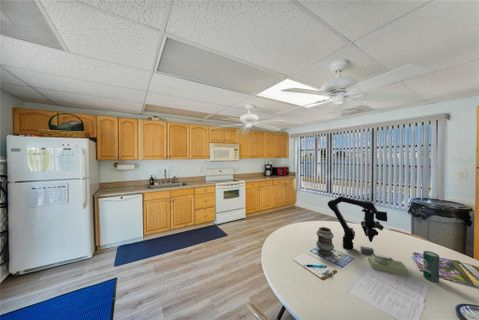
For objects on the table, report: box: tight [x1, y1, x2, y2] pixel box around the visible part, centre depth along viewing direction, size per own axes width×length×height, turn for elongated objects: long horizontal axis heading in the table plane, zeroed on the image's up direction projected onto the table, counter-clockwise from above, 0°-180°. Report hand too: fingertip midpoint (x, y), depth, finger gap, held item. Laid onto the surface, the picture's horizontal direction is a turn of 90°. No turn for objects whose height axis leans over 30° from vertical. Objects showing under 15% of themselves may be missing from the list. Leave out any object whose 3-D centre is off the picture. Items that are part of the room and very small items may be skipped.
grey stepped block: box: [360, 245, 375, 256], centre depth 128 cm, size 7×5×4 cm
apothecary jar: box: [316, 226, 335, 257], centre depth 130 cm, size 12×12×18 cm
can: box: [422, 250, 440, 283], centre depth 101 cm, size 6×6×15 cm
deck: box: [367, 254, 409, 277], centre depth 114 cm, size 18×14×4 cm
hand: (368, 238), depth 128 cm, fingers open, 9 cm apart
